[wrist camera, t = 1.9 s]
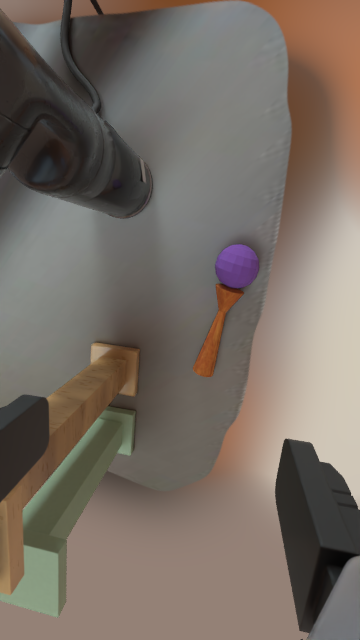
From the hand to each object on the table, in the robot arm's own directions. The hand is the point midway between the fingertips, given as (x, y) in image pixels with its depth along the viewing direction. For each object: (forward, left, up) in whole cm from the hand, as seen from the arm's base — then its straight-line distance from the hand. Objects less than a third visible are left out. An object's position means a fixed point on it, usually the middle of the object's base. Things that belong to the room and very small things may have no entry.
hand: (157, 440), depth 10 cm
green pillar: (+7, -29, -38) cm, 48 cm away
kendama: (+2, -1, -38) cm, 38 cm away
